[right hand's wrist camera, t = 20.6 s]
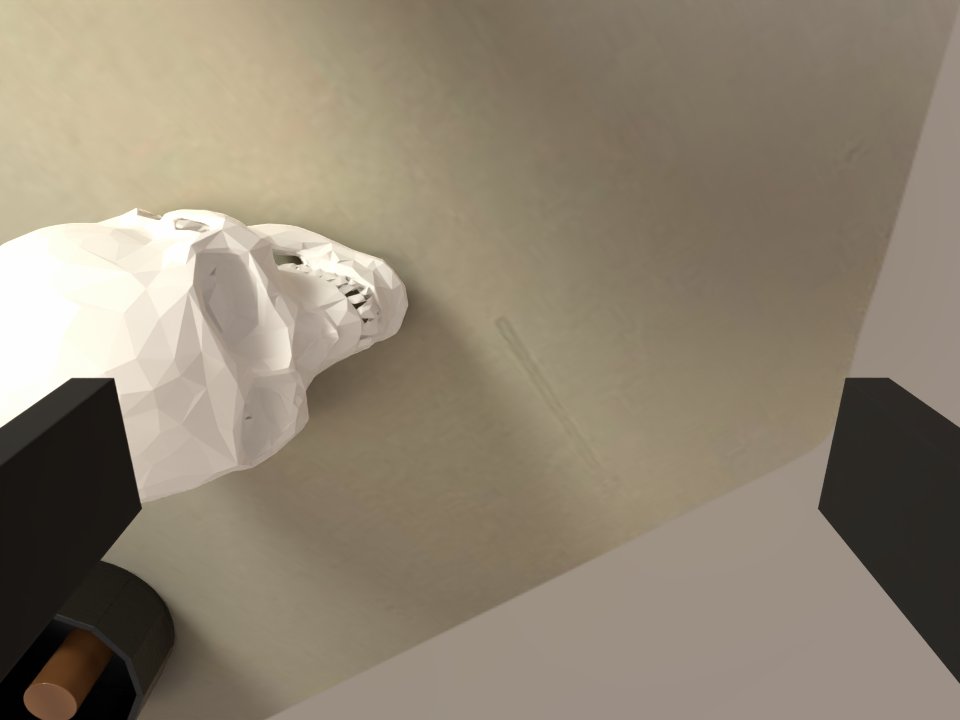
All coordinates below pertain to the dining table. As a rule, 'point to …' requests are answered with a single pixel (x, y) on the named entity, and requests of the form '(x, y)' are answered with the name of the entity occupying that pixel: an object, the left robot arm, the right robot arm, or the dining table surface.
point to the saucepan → (116, 622)
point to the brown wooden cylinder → (68, 676)
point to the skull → (188, 331)
